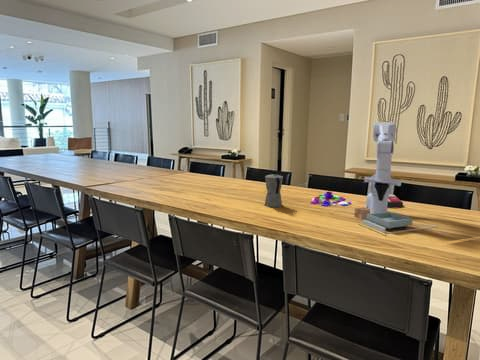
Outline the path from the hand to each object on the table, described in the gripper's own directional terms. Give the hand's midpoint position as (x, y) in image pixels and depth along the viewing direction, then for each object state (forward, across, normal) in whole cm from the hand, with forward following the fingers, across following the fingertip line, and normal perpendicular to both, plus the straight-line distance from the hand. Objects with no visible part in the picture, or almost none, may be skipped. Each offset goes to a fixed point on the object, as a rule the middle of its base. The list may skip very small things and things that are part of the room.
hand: (380, 200), depth 148 cm
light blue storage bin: (+9, +6, -8) cm, 13 cm away
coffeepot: (+10, -50, -6) cm, 52 cm away
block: (+10, -7, -2) cm, 12 cm away
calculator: (+10, -6, +36) cm, 38 cm away
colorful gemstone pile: (+10, -31, +22) cm, 40 cm away
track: (+9, +9, -3) cm, 13 cm away
